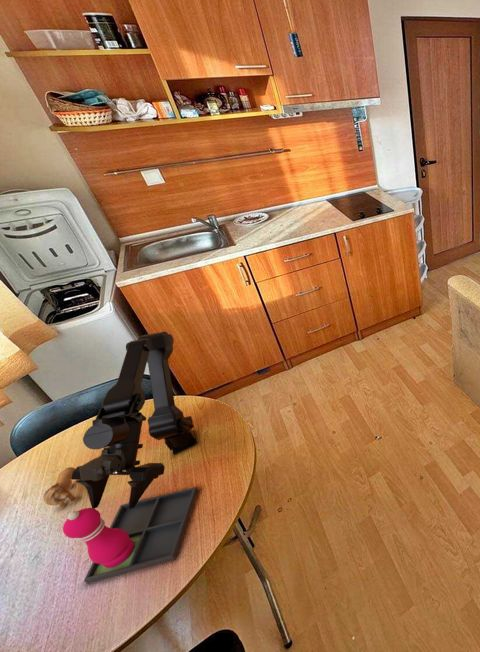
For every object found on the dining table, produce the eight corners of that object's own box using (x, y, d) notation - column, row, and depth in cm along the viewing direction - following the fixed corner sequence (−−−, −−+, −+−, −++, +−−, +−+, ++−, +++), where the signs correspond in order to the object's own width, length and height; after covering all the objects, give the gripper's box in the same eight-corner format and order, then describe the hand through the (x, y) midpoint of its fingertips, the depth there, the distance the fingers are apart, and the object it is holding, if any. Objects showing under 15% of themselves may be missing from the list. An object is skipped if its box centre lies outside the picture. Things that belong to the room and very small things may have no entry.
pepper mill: (114, 539, 96) (66, 498, 84) (143, 536, 96) (100, 495, 85) (93, 572, 90) (39, 532, 78) (124, 568, 90) (75, 529, 79)
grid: (124, 508, 103) (120, 505, 102) (198, 490, 107) (195, 487, 106) (87, 583, 88) (83, 580, 87) (175, 559, 92) (172, 556, 91)
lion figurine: (81, 509, 103) (61, 492, 98) (55, 520, 100) (33, 503, 95) (89, 468, 113) (71, 451, 108) (66, 478, 110) (47, 460, 105)
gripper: (53, 447, 86) (38, 520, 83) (131, 448, 86) (119, 521, 83) (100, 439, 97) (88, 503, 94) (170, 439, 97) (160, 504, 94)
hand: (113, 508), depth 91 cm, fingers open, 9 cm apart
